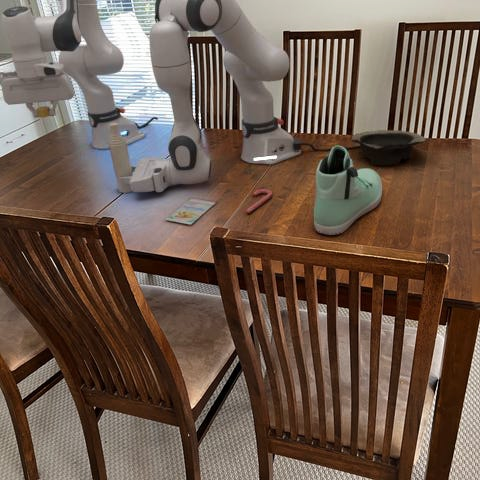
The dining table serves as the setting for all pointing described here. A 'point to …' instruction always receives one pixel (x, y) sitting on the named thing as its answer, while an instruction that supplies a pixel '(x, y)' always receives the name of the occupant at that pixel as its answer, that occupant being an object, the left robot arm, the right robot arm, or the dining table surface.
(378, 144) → the stone bowl
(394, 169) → the dining table surface
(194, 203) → the baking ingredient package
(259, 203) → the candy cane
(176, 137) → the right robot arm
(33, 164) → the dining table surface
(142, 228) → the dining table surface
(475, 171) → the dining table surface
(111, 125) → the bottle
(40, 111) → the cap
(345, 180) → the sneaker
